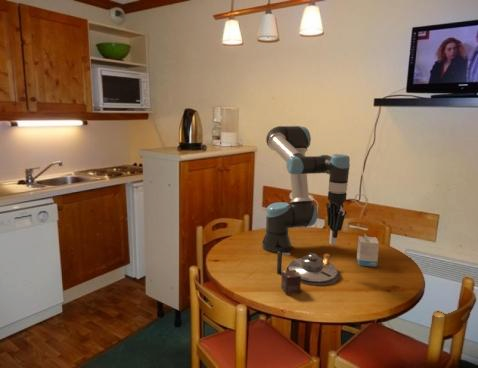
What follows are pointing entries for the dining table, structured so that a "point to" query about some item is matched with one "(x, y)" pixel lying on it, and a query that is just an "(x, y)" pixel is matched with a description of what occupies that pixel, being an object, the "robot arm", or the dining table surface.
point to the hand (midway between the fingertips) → (332, 243)
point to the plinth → (319, 283)
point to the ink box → (367, 251)
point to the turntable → (315, 277)
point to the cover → (312, 263)
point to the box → (291, 282)
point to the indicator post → (280, 261)
